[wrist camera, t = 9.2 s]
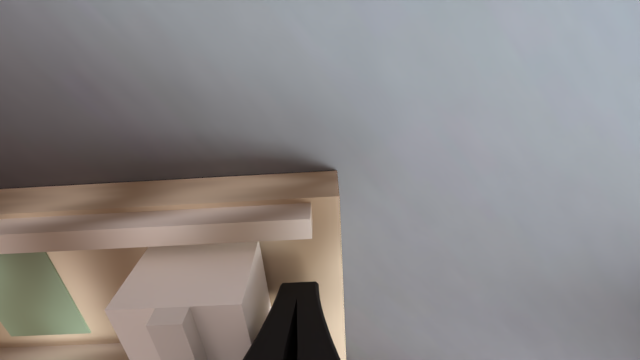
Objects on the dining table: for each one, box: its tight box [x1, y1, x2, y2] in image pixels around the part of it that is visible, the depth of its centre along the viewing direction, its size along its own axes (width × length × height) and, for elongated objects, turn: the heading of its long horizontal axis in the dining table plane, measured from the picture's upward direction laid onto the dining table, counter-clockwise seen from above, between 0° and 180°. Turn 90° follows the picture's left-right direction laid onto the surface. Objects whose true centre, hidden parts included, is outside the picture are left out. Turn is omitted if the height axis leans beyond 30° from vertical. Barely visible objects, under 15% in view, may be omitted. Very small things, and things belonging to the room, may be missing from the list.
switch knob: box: [104, 241, 271, 360], centre depth 12 cm, size 4×5×4 cm
